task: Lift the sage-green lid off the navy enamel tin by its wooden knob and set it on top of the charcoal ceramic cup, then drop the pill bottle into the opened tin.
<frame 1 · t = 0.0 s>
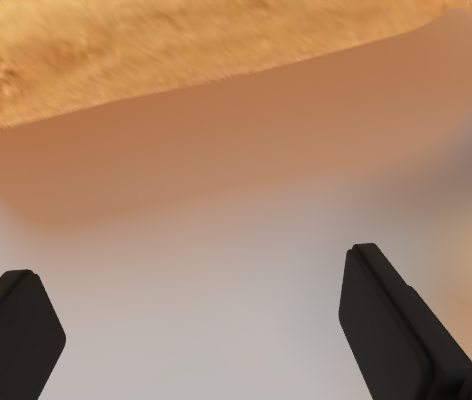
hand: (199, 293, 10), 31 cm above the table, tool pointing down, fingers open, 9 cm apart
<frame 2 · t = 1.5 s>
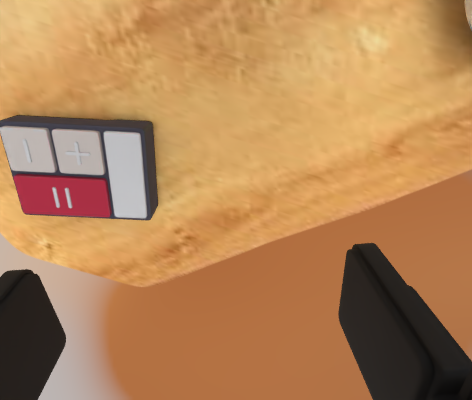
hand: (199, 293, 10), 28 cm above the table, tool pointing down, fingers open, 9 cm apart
calculator: (92, 163, 37), on the table
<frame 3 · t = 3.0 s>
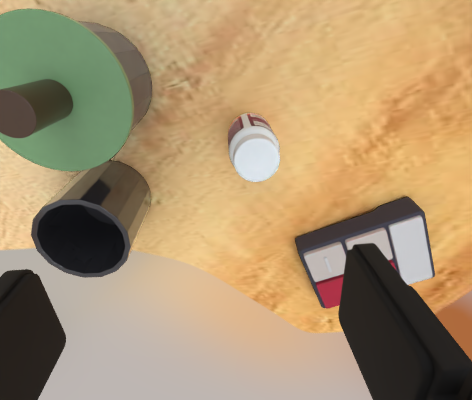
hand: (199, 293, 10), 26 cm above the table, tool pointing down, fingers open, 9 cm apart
tin: (100, 82, 31), on the table
cup: (114, 194, 36), on the table
pill bottle: (249, 133, 34), on the table
lid: (57, 98, 23), point 9 cm above the table, touching tin
calculator: (358, 247, 42), on the table
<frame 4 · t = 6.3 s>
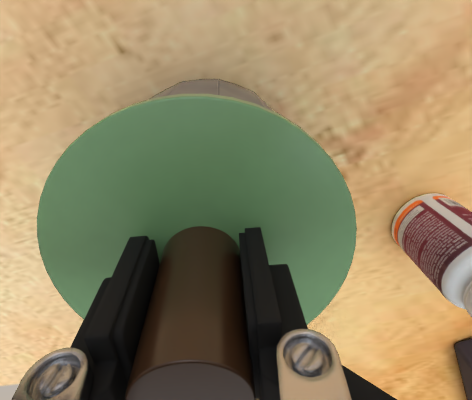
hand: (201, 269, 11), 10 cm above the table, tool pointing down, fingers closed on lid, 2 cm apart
tin: (209, 164, 20), on the table
pill bottle: (420, 219, 23), on the table
lid: (202, 248, 12), point 9 cm above the table, touching gripper, tin
when the fingers open (11 cm above the table, at t = 11.5 s): lid stays where it is, resting on cup.
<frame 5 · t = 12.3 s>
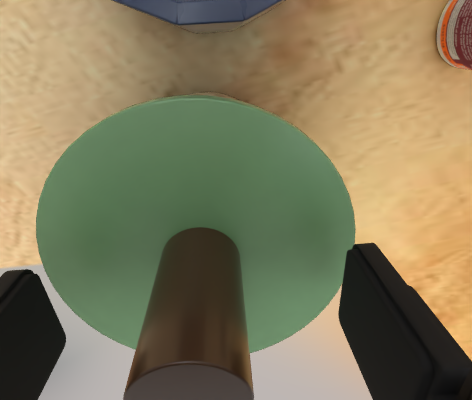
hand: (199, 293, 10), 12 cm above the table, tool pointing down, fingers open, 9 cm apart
lid: (201, 249, 12), point 10 cm above the table, touching cup
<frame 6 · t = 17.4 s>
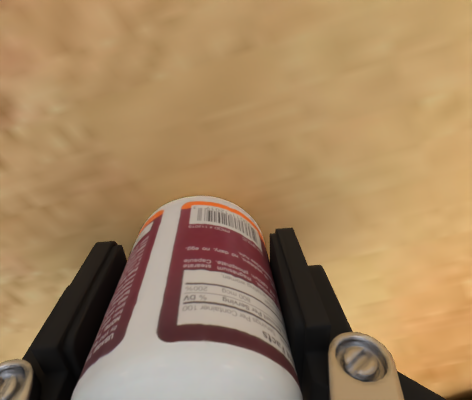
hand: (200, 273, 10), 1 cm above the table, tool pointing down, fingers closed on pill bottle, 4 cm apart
pill bottle: (203, 245, 12), on the table, touching gripper
when the fingers open (8 cm above the table, at t = 24.3 s): pill bottle drops 6 cm, point 1 cm above the table.
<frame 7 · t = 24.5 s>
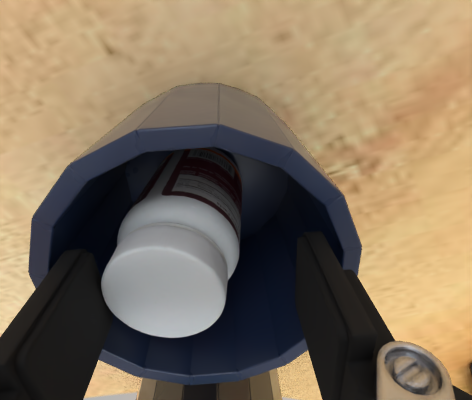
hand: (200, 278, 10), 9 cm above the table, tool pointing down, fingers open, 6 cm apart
tin: (208, 176, 18), on the table
cup: (211, 328, 23), on the table
pill bottle: (201, 182, 17), point 1 cm above the table, touching gripper
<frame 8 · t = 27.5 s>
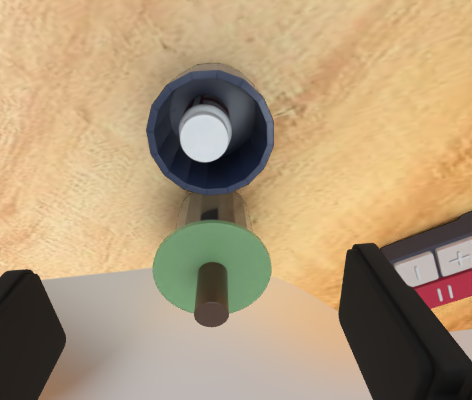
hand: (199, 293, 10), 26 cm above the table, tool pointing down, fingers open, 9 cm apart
tin: (213, 115, 33), on the table
cup: (214, 216, 39), on the table
pill bottle: (207, 117, 33), resting on tin
lid: (212, 269, 30), point 10 cm above the table, touching cup
calculator: (438, 254, 43), on the table
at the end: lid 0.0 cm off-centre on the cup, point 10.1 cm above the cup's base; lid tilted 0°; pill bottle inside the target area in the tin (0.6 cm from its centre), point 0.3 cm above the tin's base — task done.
